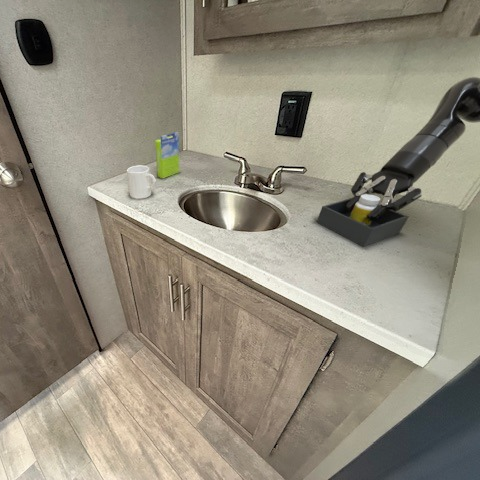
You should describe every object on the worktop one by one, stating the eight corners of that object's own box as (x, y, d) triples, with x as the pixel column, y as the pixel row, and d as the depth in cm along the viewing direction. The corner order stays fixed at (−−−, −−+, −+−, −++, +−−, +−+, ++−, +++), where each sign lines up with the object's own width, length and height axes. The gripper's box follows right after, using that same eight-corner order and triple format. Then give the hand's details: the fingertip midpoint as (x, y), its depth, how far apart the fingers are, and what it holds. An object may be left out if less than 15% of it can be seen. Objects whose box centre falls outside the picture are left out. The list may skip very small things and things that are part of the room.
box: (173, 170, 112) (172, 130, 102) (180, 172, 109) (179, 131, 99) (156, 177, 106) (153, 135, 96) (162, 179, 103) (160, 136, 94)
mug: (149, 203, 85) (147, 176, 80) (125, 195, 92) (122, 170, 86) (163, 195, 90) (162, 169, 85) (140, 188, 97) (137, 163, 91)
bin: (349, 211, 73) (356, 196, 70) (398, 233, 63) (409, 216, 60) (316, 222, 69) (322, 206, 66) (363, 247, 59) (372, 229, 56)
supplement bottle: (367, 232, 63) (382, 203, 58) (345, 227, 65) (358, 198, 61) (368, 224, 66) (382, 195, 61) (347, 219, 68) (359, 191, 64)
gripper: (379, 144, 62) (329, 196, 66) (451, 158, 51) (386, 220, 55) (383, 161, 67) (336, 209, 71) (450, 177, 56) (390, 233, 60)
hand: (358, 213), depth 63 cm, fingers closed on supplement bottle, 4 cm apart
